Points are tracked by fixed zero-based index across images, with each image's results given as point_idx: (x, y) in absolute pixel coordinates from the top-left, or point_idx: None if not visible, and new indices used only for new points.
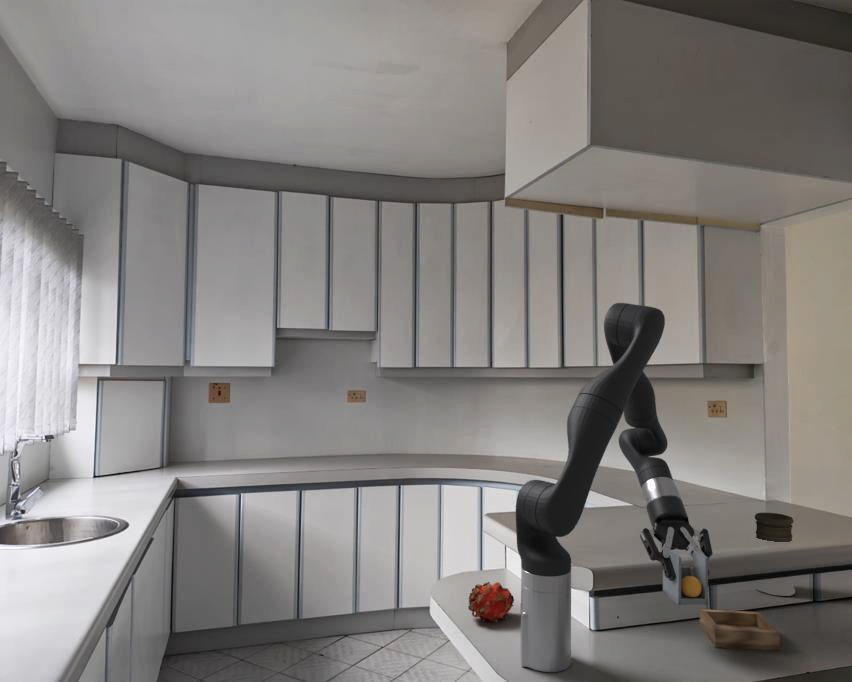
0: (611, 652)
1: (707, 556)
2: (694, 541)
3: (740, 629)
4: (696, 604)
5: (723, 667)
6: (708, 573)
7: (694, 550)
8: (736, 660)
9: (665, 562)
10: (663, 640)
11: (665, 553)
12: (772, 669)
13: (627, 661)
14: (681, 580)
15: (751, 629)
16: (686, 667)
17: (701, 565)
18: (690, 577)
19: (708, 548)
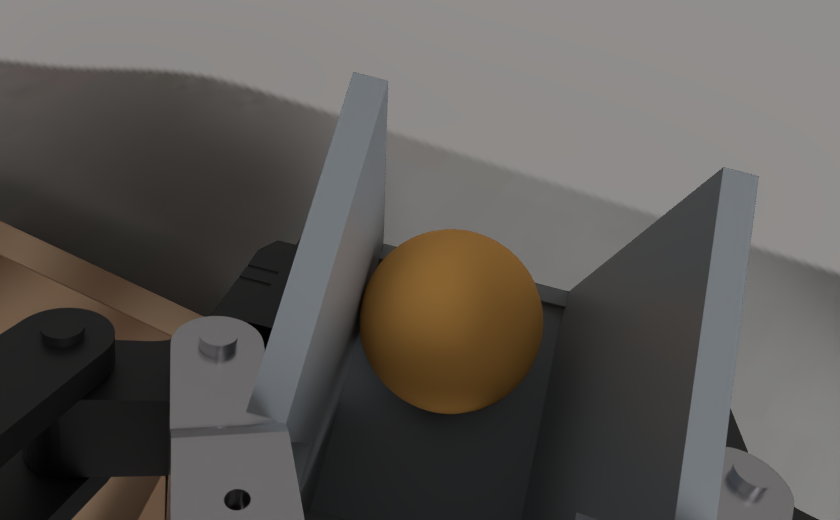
0: (804, 469)
1: (122, 347)
2: (192, 484)
3: (126, 298)
4: None
5: (394, 191)
6: (279, 245)
7: (292, 400)
8: (287, 222)
9: (730, 446)
10: None
11: (759, 498)
12: (205, 114)
13: (771, 366)
14: (530, 352)
15: (66, 278)
16: (549, 240)
17: (362, 227)
18: (481, 283)
19: (15, 372)
